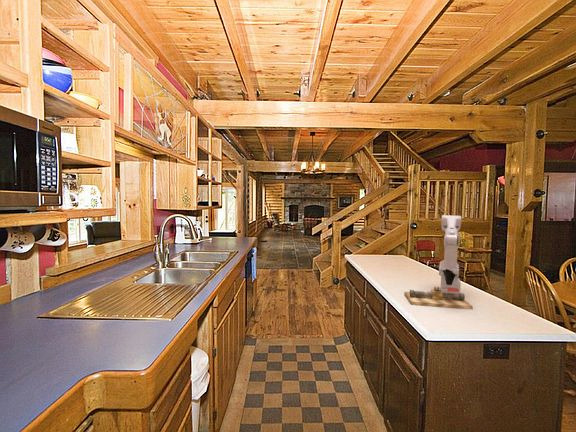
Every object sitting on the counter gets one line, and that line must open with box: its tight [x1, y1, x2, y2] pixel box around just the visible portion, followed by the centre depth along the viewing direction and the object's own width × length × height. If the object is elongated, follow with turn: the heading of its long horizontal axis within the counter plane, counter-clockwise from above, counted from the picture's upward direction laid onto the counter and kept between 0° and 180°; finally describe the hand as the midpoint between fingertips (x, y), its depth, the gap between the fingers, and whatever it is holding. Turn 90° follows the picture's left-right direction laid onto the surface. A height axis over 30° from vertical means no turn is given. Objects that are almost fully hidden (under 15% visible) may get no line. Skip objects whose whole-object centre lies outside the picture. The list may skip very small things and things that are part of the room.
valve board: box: [403, 288, 473, 310], centre depth 154 cm, size 28×16×6 cm, turn 80°
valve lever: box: [433, 286, 459, 292], centre depth 153 cm, size 11×2×1 cm, turn 81°
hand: (449, 284), depth 152 cm, fingers closed
